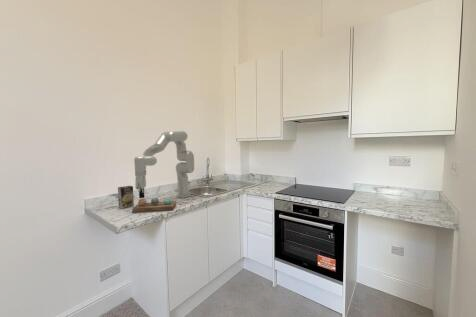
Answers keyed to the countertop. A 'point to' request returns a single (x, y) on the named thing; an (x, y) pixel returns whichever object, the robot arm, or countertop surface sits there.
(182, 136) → the robot arm
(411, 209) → the countertop surface
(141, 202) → the button terracotta two
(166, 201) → the button teal one
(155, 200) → the button charcoal three
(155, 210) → the button panel
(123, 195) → the coffee box
